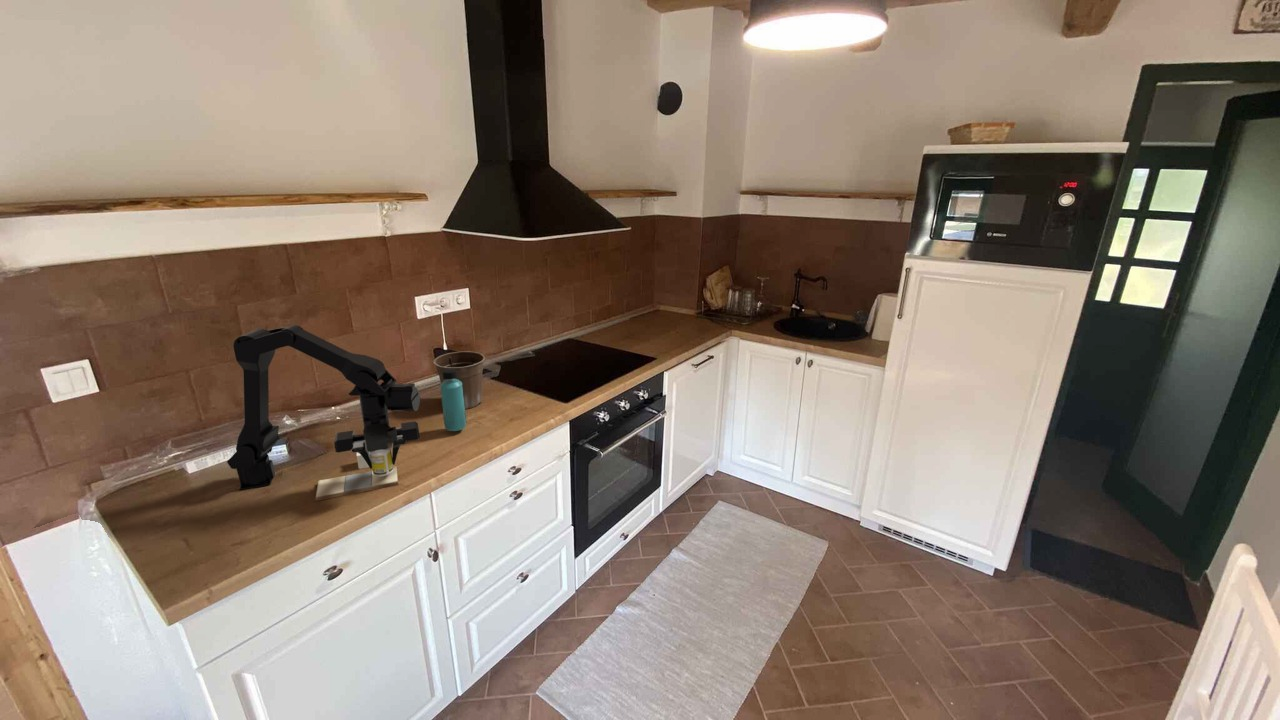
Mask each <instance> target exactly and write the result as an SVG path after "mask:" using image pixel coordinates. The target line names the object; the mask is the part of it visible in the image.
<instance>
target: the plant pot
mask: <svg viewBox="0 0 1280 720" xmlns="http://www.w3.org/2000/svg"><path fill="white" fill-rule="evenodd" d="M485 359H486V358H485V355H484V354H482V353H480V352H476V351H469V350H466V351H463V350H461V351H453V352H449V353H444V354H442V355H439V356H437V357H435V358H434V360H433V364H434V366H435V368H436V373H437V375H438V376H439V380H440V384H441V383H442V382H443V381H444V380H447V379H444V378H443V371H444V370H446V369H455V370H456V371H457V375H458V377H457V378H455V379H457V380H459V381H461V382H462V389H463V398H464V401H465V402H464V404H465V405H464V407H465V410H468V409H472V408H475V407H477V406H478V405H479V404H482V402H483V370H484V361H485Z"/></svg>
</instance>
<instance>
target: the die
mask: <svg viewBox="0 0 1280 720" xmlns="http://www.w3.org/2000/svg"><path fill="white" fill-rule="evenodd" d="M369 453H370V452H369ZM356 461H357V467H358V470H361V469H362V470H363V469H367V468H370V467H369V466H368V464H367V463H366V461H365V459H364V458H363V457H362V456H361V454H359V453H357V452H356Z"/></svg>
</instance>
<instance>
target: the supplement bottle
mask: <svg viewBox="0 0 1280 720" xmlns="http://www.w3.org/2000/svg"><path fill="white" fill-rule="evenodd" d="M370 457H371V463H372V469H371V470H372V471H373V474H374V475H376V476H385V475H388V474H390V473H391V472H392V471H393V469H394V468H393V467H394V465H393V462H392V449H391V447H390V446H389V448H388V449H385V450H376V451H373V452H370Z"/></svg>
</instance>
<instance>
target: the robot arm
mask: <svg viewBox="0 0 1280 720" xmlns="http://www.w3.org/2000/svg"><path fill="white" fill-rule="evenodd" d="M232 347H233V353H234V357H235V358H234V359H235V361H236V362H237V363H238V365H239V367H240V368H242V377H243V378H242V379H243V380H242V381H243V384H242V385H243V420H244V423H243V426H242V428H241V430H240V432H239V435H238V436H237V441H236V447H235V453H233V454H232V456H231V457H230V458H229V459H228V460H227V461H226V463H227V465H228V466H229V467H230V469H234V470H236V473H237V475H238V479H239V486H238V489H239V491H243V490H244V491H245V490H248V489H249V490H250V489H255V488H260V487H264V486H265V487H266V486H271V484H272V481H273V480H274V478H275V475H276V470H275V466H274V462H273V460H272V459H270V458H269V453H271V452H272V451H273V447H274V446H276V445H277V442H278V441H280V436H279V430H280V426H279V425H273V424H272V422H271V421H270V420H269V418H270V417H269V416H270V415H269V412H270V411H269V410H270V409H269V406H270V404H269V403H270V402H269V367H270V365H271V363H272V360H273V358H274V356H275V354H276V350H278V349H281V348H284V347H290V348H293V349H294V350H297V351H298V352H300V353H302V354H305V355H306V356H309V357H311V358H313V359H315V360H317V361H319V362H321V363H323V364H326V365H327V366H329V367H332V368H333V369H336V370H337V371H338V372H340V373H341V374H342V375H343V376H344V378H345V379H346V380H347V381H348V382H350V383H351V384H353V385H354V387H353V389H352V390H350V391H349V393H348V395H349V397H350V396H357V397H358V399H359V406H360V411H361V416H362V417H361V419H362V425H363V429H362V431H363V433H361V434H355V433H354V432H355V431H354V430H347V431H342V432H337V433H336V434H335V436H334V450H335V453H344V452H348V451H351V452H352V453H356V454H357V453H359V454H361V456H362V457H363V458H364V459H365V461H366V463H367V464H368V466H369V467H368V468H370V469H371V470H373V469H372V463H371V457H370V453H369V452H373V451H376V450H385V449H388V448H389V447H390V444H391V445H392V446H391V448H392V449H391V455H392V462H393V466H394V465H395V464H396V460H397V456H398V452H399V450H400V448H401V446H402V445H405V444H406V443H407V442H412V441H416V440H419V439H421V438H420V429H419V423H418V422H416V421H415V420H413V421H408V422H407V421H406V422H401V423H400V426H401V427H396V426H391V424H390V417H389V411H391V412H417V411H418V409H419V408H420V401H421V394H420V392H419V390H418V388H417V387H416V384H415V383H411V382H409V383H397V379H396V378H395V377H394V376H393V375H392V374H391V373H390V372H389V371H388V370H387V369H386V367H385V364H384V362H383V361H382V360H380V359H377V358H374V357H373V356H369V355H366V354H358V353H353V352H350V351H347V349H343V348H342V347H340V346H337V345H335V344H333V343H331V342H329V341H327V340H325V339H323V338H322V337H319V336H317V335H315V334H313V333H312V332H310V331H307V330H305V329H304V328H303V327H302V326H301V325H297V324H294V325H293V324H292V325H291V324H290V325H289V326H286V327H285V326H284V327H277V328H274V329H269V330H268V329H265V328H257V329H253V330H252V331H249V332H247V333H245V334H242V335H240V336H238V337H237V338H236V339H235V340H234V341H233V343H232ZM380 381H383V382H381V383H379V382H380Z"/></svg>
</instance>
